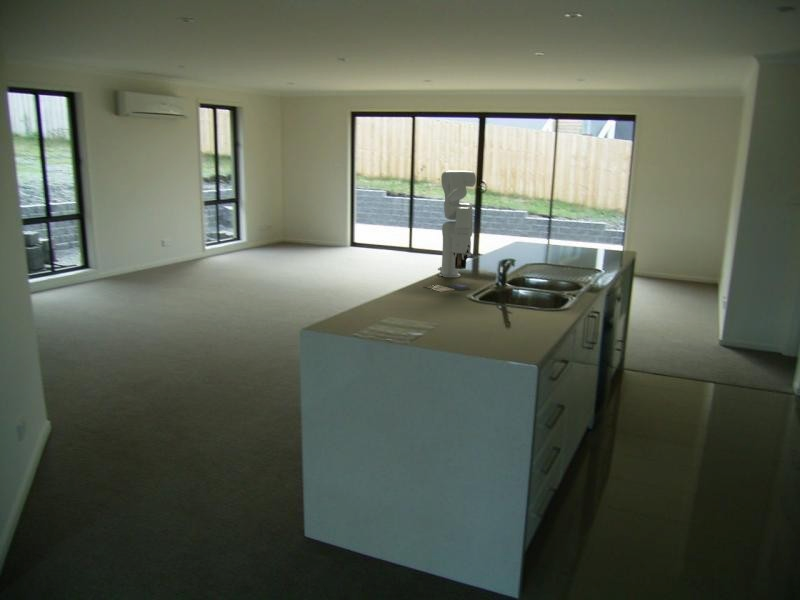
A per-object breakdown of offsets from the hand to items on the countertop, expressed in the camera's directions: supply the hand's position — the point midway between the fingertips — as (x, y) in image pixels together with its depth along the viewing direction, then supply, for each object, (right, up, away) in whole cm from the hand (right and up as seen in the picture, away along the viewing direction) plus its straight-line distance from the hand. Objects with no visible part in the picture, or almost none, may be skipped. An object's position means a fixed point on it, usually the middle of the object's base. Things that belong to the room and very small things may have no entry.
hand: (460, 266), depth 331 cm
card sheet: (-11, -12, 0) cm, 16 cm away
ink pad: (0, -12, +3) cm, 12 cm away
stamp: (0, -1, 0) cm, 1 cm away
